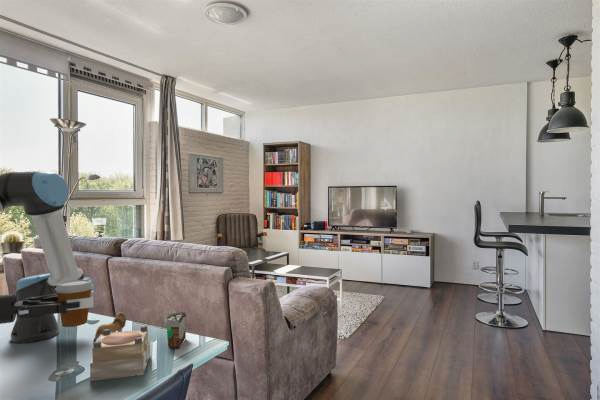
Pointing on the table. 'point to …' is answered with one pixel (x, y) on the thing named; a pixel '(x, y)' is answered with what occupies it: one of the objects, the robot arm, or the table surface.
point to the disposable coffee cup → (70, 292)
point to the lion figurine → (112, 325)
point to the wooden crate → (120, 354)
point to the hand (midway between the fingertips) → (93, 298)
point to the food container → (176, 329)
